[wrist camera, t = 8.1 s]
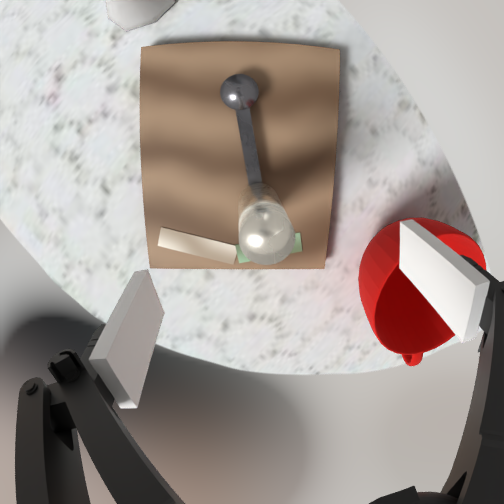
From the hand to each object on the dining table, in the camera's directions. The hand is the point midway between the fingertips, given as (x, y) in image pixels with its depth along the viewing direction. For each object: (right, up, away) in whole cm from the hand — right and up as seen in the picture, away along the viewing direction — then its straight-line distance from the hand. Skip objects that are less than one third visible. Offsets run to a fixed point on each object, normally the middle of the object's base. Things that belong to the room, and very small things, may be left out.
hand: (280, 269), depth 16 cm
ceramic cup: (+15, -1, +20) cm, 25 cm away
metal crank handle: (-1, +9, +12) cm, 15 cm away
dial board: (-3, +10, +14) cm, 17 cm away
